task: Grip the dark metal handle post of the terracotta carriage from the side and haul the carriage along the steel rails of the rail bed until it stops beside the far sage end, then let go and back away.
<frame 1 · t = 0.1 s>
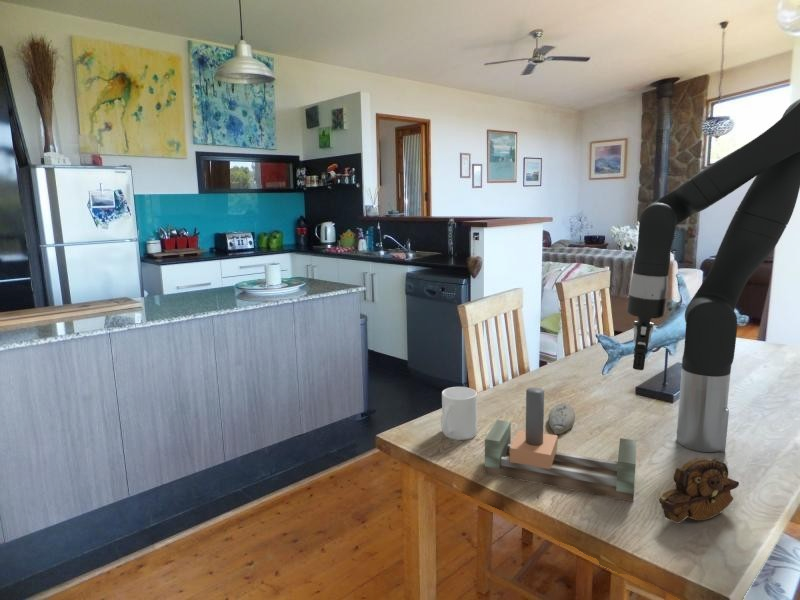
hand: (638, 363, 120), 17 cm above the table, tool pointing down, fingers open, 8 cm apart
rail bed: (558, 474, 107), on the table
mug: (455, 436, 125), on the table
decorative stone: (561, 424, 130), on the table
carriage: (534, 423, 107), point 10 cm above the table, slide at 0.0 cm
wooden carving: (699, 517, 91), on the table
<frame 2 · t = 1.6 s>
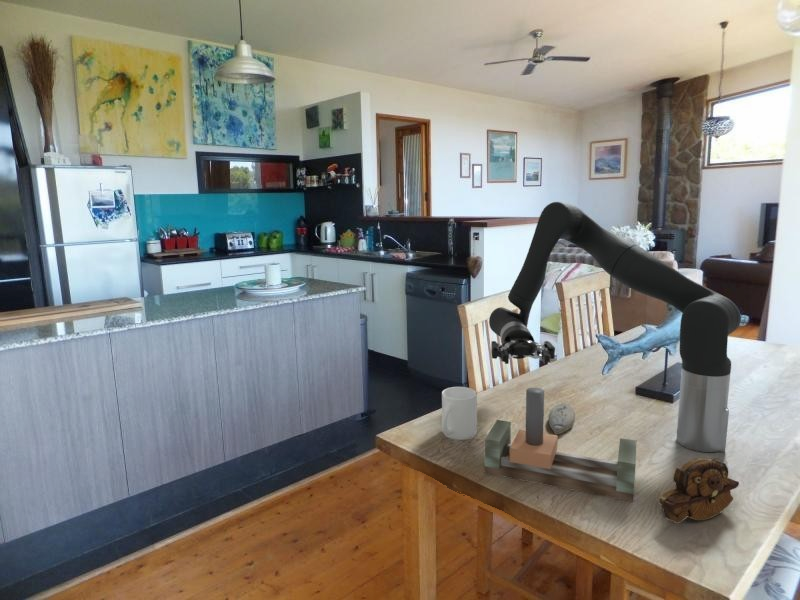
hand: (526, 359, 115), 20 cm above the table, tool horizontal, fingers open, 8 cm apart
nothing on the table moved.
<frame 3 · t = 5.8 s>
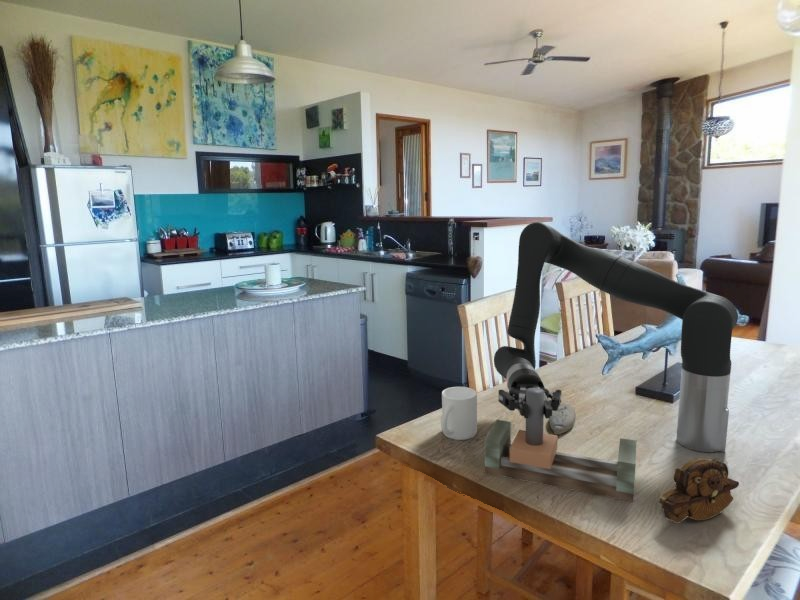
hand: (537, 413, 103), 13 cm above the table, tool horizontal, fingers closed on carriage, 3 cm apart
carriage: (534, 423, 107), point 10 cm above the table, slide at 0.0 cm, touching gripper
everything else where it was.
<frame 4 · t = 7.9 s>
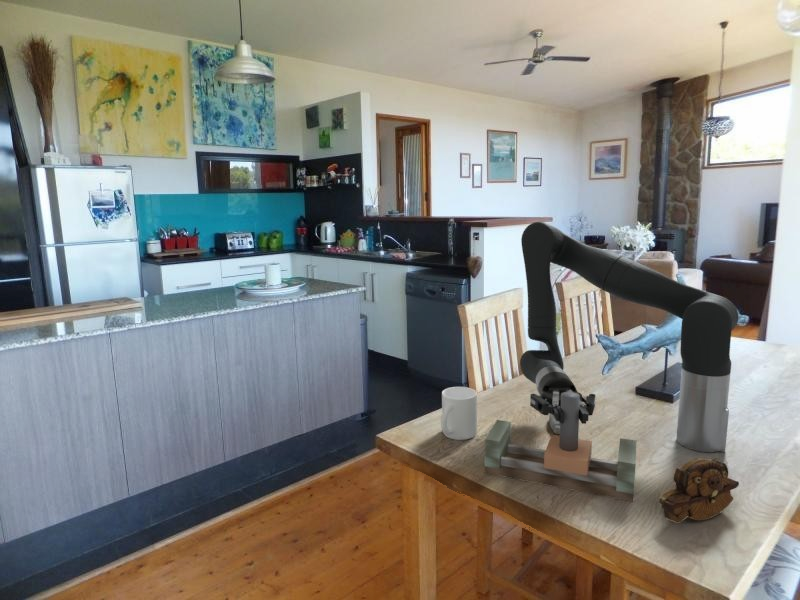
hand: (573, 418, 100), 14 cm above the table, tool horizontal, fingers closed on carriage, 3 cm apart
carriage: (569, 428, 104), point 10 cm above the table, slide at 6.8 cm, touching gripper
everything else where it was.
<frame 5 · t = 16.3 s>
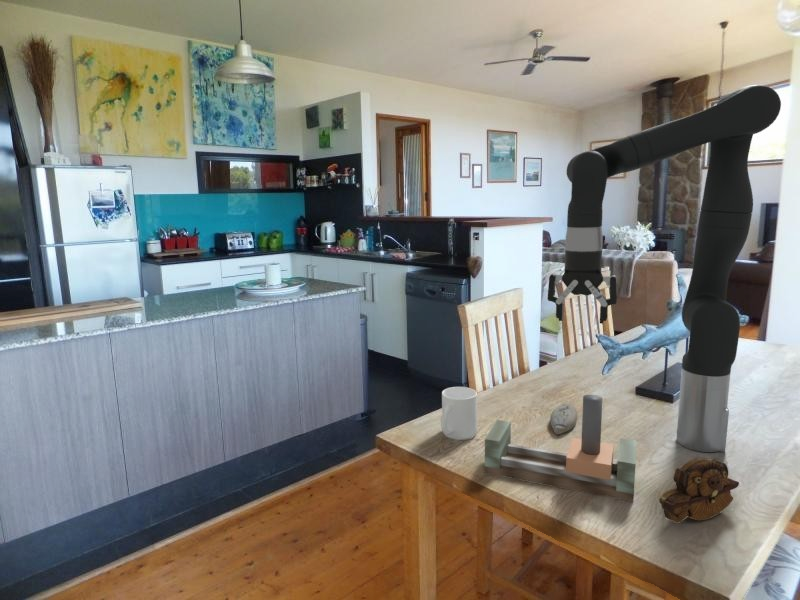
hand: (580, 321, 116), 28 cm above the table, tool pointing down, fingers open, 8 cm apart
carriage: (591, 431, 102), point 10 cm above the table, slide at 10.9 cm
everything else where it was.
at the end: carriage slide at 10.9 cm; carriage touching nothing; mug moved 0.2 cm from its start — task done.
